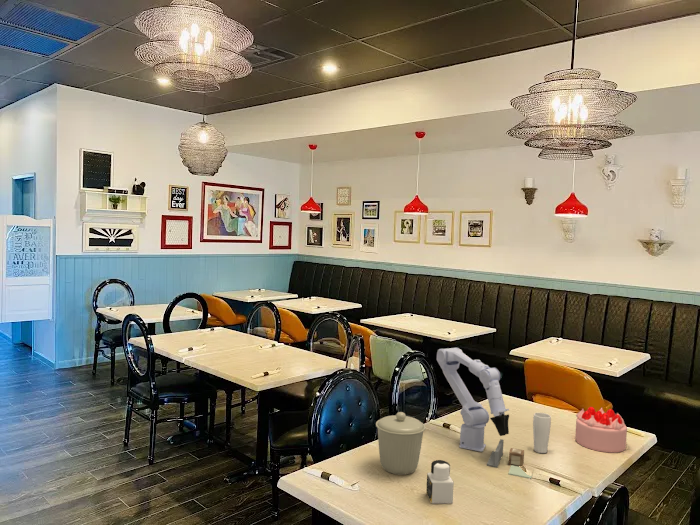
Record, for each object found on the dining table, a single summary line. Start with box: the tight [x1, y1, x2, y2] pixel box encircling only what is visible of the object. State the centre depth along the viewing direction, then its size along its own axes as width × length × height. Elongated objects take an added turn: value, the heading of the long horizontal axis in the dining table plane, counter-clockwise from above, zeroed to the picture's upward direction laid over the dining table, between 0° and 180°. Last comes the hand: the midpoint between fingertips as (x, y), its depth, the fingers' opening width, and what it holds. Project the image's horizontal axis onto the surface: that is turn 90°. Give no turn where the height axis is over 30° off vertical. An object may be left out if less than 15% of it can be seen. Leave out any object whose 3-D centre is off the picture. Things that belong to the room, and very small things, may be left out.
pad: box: [507, 465, 533, 480], centre depth 196 cm, size 8×8×1 cm
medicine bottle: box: [426, 459, 454, 504], centre depth 174 cm, size 7×7×12 cm
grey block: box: [486, 438, 505, 469], centre depth 207 cm, size 4×14×6 cm, turn 156°
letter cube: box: [508, 447, 525, 466], centre depth 203 cm, size 5×5×5 cm
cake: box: [574, 406, 628, 454], centre depth 228 cm, size 20×20×14 cm
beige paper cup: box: [532, 412, 552, 454], centre depth 217 cm, size 7×7×15 cm
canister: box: [375, 411, 426, 476], centre depth 195 cm, size 18×18×21 cm
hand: (504, 435), depth 205 cm, fingers open, 7 cm apart
